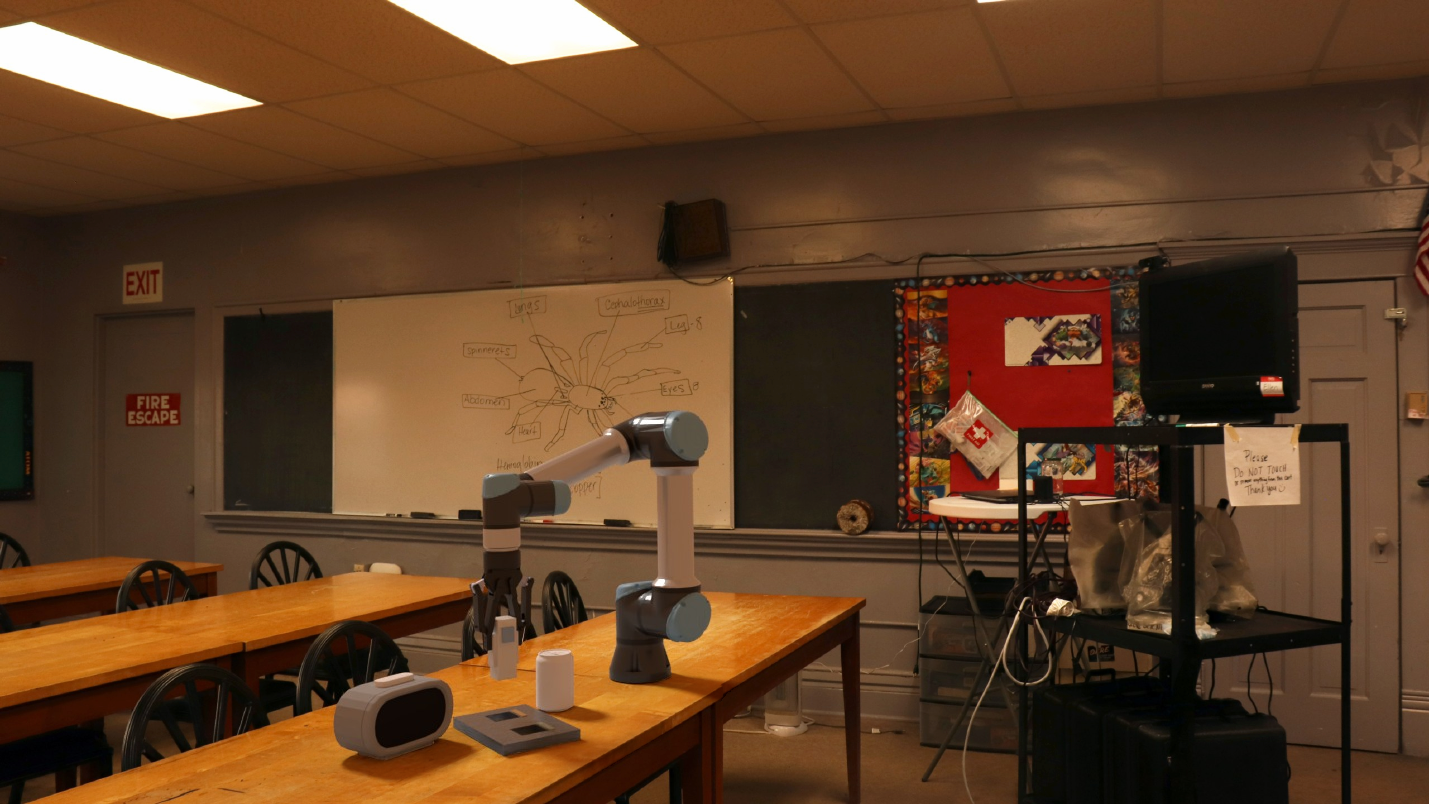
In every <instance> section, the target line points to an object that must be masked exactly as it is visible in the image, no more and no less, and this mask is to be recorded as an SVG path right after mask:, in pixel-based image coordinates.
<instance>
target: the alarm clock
mask: <svg viewBox="0 0 1429 804" xmlns="http://www.w3.org/2000/svg"><path fill="white" fill-rule="evenodd" d="M453 714H454V694H453V693H452V688H451V687H450V685H449V684H448V683H447V682H446V681H444V680H442V679H440V678H435V677H429V676H421V675H416V674H414V673H412V672H401V673H396V674H392V675H388V676H385V677H380V678H377V679H374V681H370V682H366V683H363V684H362V683H361V684H359V685H356V686H354V687H352V688H349V689H348V690H347V691H345V692H344V694H342V695H341V697H339V700H338V702H337V704H336V706H335V709H334V714H333V734H334V737H335V740H336V742H337V743H338V745H339V746H340V747H341V748H344V749H346V750H349V751H353V752H356V753H357V755H360V756H364V757H367V758H368V757H369V758H372V759H376V760H380V761H385V762H386V761H387V760H391V759H394V758H397V757H400V756H402V755H406V754H407V753H411V752H414V751H417V750H420V749H423V748H426V747H429V746H431V745H434V741H435V740H438V739H440V738H441V737H443V735H444V734H445V733H446V732H447V731H448V729H449V727H450V725H451V723H452V720H453Z"/></svg>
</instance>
